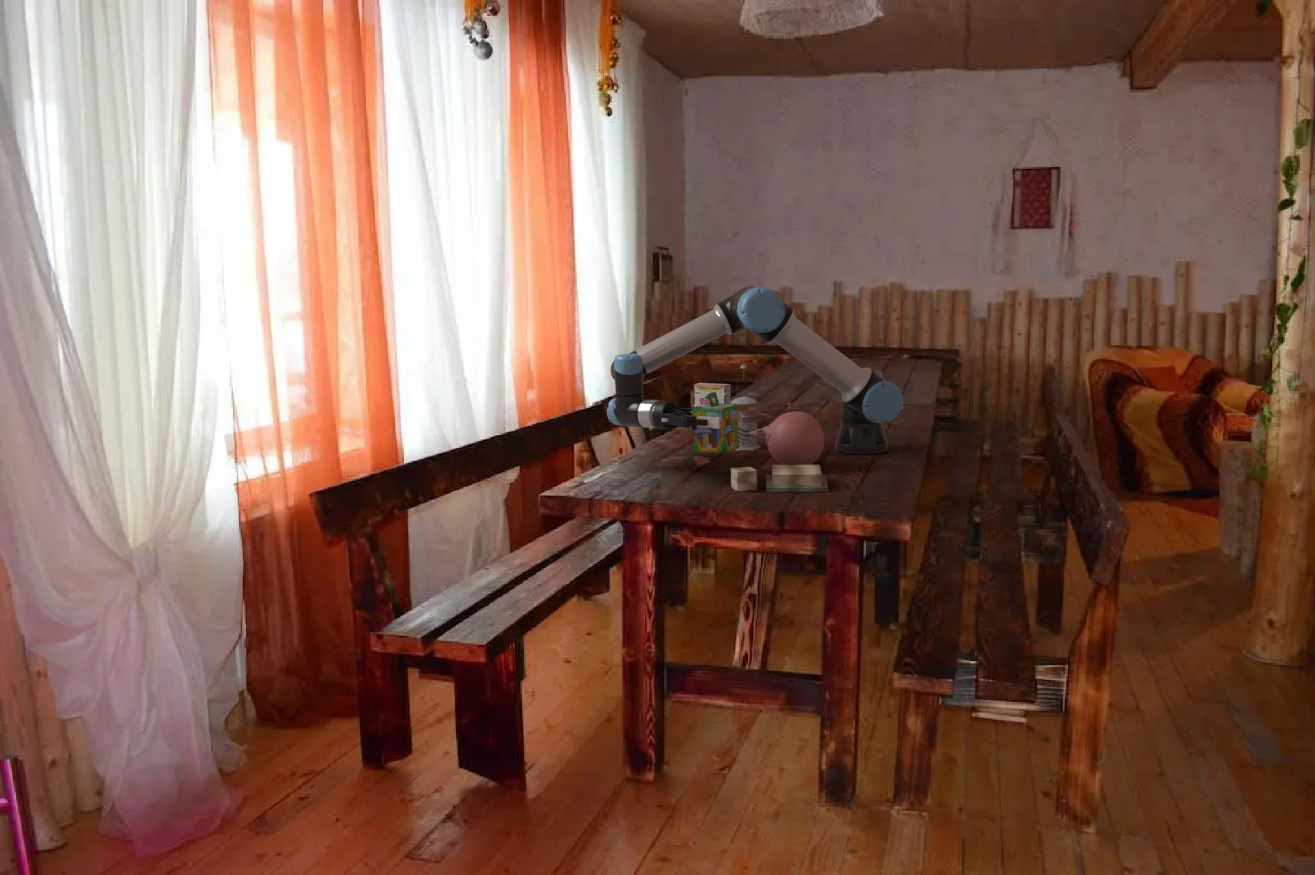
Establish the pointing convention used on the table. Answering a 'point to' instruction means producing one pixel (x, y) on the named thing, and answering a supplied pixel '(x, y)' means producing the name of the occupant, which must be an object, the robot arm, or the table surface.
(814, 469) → the plinth
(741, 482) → the birch block
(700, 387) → the candy bar box
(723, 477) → the table surface
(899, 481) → the table surface
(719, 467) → the table surface
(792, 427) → the balloon
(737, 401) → the french press
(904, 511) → the table surface
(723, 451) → the chalk box
